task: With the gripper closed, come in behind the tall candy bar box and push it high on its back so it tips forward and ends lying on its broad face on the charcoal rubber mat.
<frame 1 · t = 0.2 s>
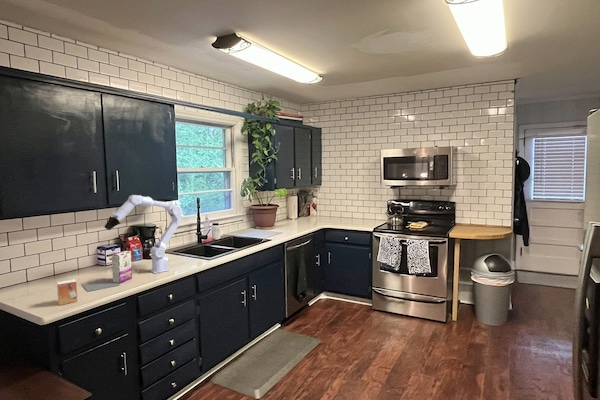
hand: (106, 228, 218), 31 cm above the table, tool tilted 45°, fingers open, 7 cm apart
small box: (68, 302, 185), on the table
candy bar box: (122, 280, 219), on the table, touching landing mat
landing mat: (100, 285, 212), on the table
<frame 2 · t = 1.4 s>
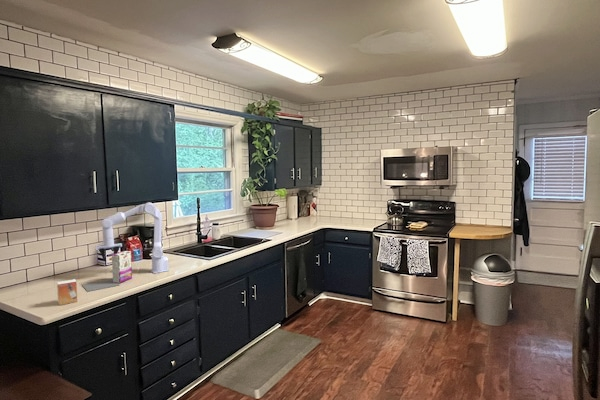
hand: (109, 260, 227), 10 cm above the table, tool pointing down, fingers open, 5 cm apart
nothing on the table moved.
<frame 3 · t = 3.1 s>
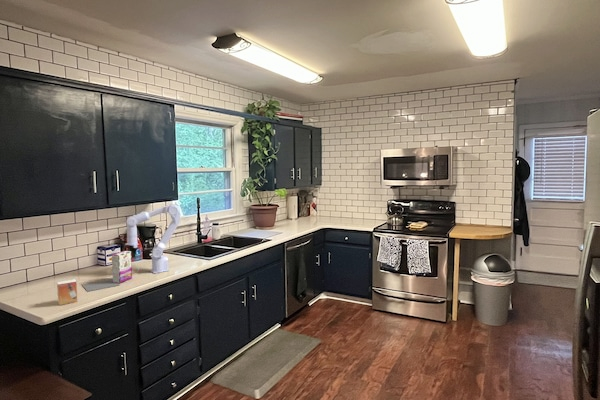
hand: (132, 257, 232), 10 cm above the table, tool pointing down, fingers closed
nothing on the table moved.
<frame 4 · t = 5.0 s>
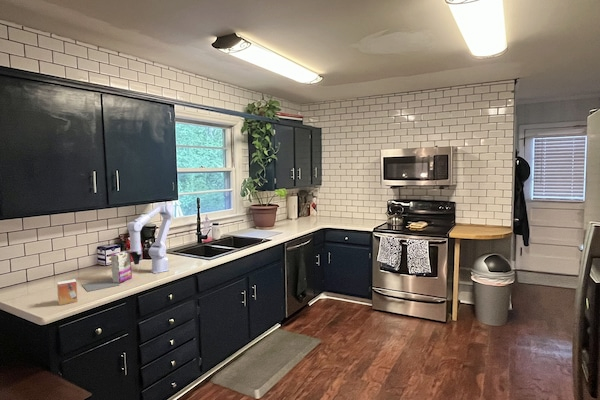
hand: (136, 264, 223), 8 cm above the table, tool pointing down, fingers closed
candy bar box: (122, 280, 219), on the table, touching gripper, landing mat
everything else where it was.
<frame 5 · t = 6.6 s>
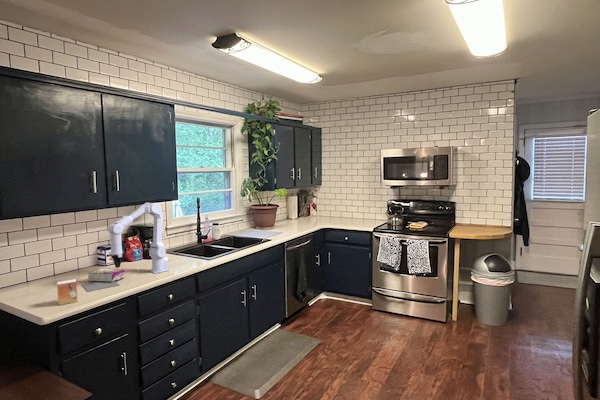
hand: (117, 267, 217), 8 cm above the table, tool pointing down, fingers closed
candy bar box: (119, 275, 219), point 3 cm above the table, touching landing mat
everything else where it was.
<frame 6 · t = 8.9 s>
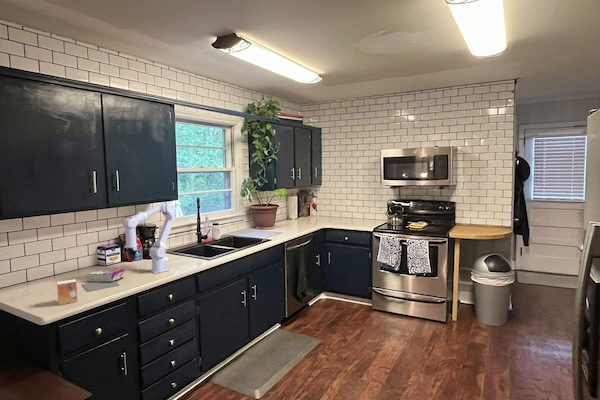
hand: (132, 260, 225), 10 cm above the table, tool pointing down, fingers closed
candy bar box: (118, 275, 219), point 3 cm above the table, touching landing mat
everything else where it was.
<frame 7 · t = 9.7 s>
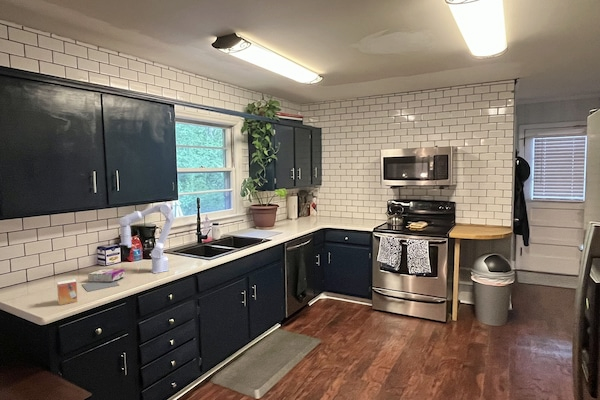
hand: (127, 257, 233), 10 cm above the table, tool pointing down, fingers closed
nothing on the table moved.
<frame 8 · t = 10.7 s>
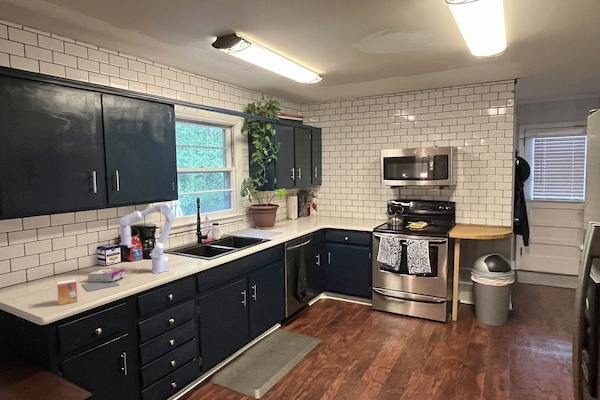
hand: (127, 257, 233), 10 cm above the table, tool pointing down, fingers closed
nothing on the table moved.
at the end: candy bar box tilted 92°; candy bar box inside the target area (4.3 cm from its centre), point 3.2 cm above the table; candy bar box touching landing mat, table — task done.
